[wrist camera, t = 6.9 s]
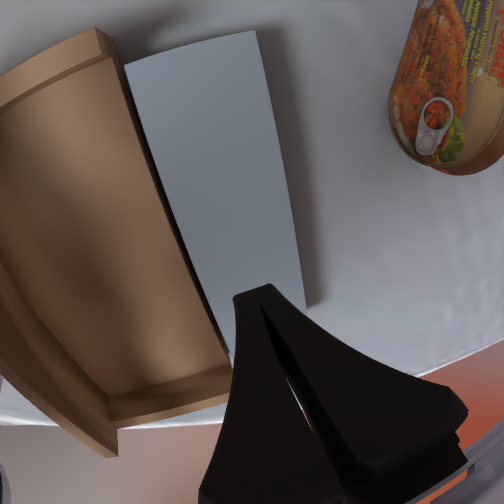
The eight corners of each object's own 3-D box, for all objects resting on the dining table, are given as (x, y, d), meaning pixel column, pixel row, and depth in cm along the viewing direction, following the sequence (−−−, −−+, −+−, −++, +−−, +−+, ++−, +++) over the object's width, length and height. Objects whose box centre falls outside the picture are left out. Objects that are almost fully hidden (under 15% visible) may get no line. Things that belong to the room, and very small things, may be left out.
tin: (427, -37, 12) (523, -43, 5) (455, -13, 13) (547, -8, 6) (370, 139, 19) (467, 189, 12) (402, 154, 20) (493, 206, 13)
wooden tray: (105, 387, 24) (105, 457, 19) (-54, 135, 11) (-126, 177, 5) (228, 353, 26) (250, 425, 20) (112, 38, 12) (78, 17, 6)
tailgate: (232, 357, 23) (309, 331, 23) (123, 65, 11) (254, 30, 12) (228, 341, 24) (302, 317, 25) (128, 65, 13) (246, 33, 13)
